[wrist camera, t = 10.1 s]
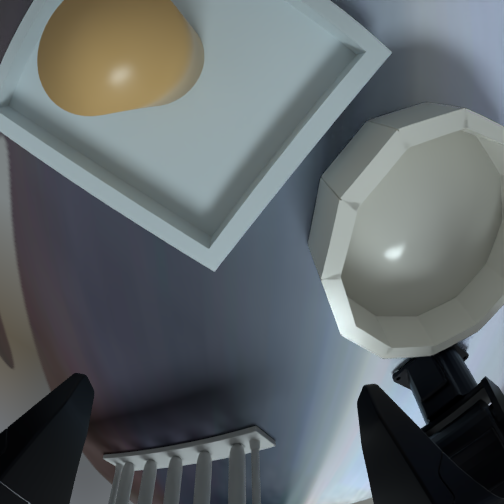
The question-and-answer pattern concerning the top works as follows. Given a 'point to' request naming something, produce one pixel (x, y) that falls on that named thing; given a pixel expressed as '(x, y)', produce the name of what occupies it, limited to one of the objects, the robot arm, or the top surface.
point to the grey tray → (202, 118)
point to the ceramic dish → (413, 230)
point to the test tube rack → (203, 455)
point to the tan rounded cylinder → (117, 55)
